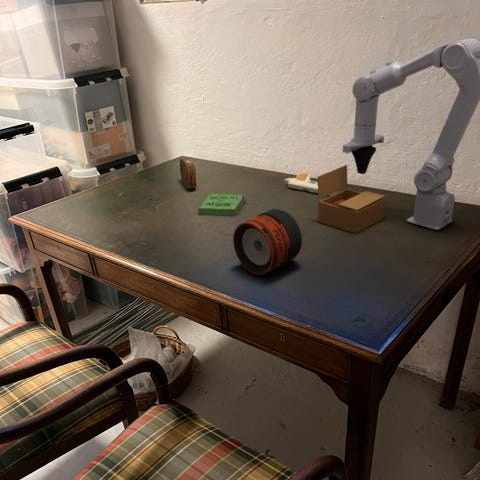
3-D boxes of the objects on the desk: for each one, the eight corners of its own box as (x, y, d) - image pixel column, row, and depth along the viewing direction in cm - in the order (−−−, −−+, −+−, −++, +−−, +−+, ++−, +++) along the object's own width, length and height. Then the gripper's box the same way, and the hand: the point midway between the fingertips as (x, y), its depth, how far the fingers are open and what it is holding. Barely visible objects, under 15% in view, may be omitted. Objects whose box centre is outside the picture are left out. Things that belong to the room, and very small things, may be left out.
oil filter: (234, 266, 124) (230, 215, 117) (268, 248, 131) (266, 200, 124) (273, 282, 116) (272, 229, 109) (307, 263, 123) (308, 212, 116)
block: (352, 215, 145) (352, 202, 143) (343, 220, 143) (344, 206, 140) (340, 212, 147) (341, 199, 145) (331, 216, 145) (332, 203, 143)
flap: (319, 199, 140) (318, 199, 140) (347, 186, 147) (346, 186, 147) (318, 176, 137) (317, 176, 137) (347, 164, 144) (346, 164, 144)
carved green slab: (199, 214, 154) (198, 206, 153) (210, 200, 164) (209, 192, 162) (235, 215, 151) (234, 207, 150) (244, 200, 161) (243, 193, 160)
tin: (180, 179, 183) (177, 155, 178) (189, 178, 183) (186, 154, 179) (189, 192, 171) (186, 167, 166) (198, 191, 171) (196, 166, 167)
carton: (318, 221, 144) (318, 199, 140) (345, 208, 151) (347, 186, 147) (355, 233, 136) (357, 209, 132) (383, 218, 143) (385, 195, 139)
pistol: (350, 187, 166) (332, 198, 158) (298, 177, 176) (279, 187, 169) (350, 180, 164) (332, 190, 157) (298, 170, 175) (279, 180, 168)
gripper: (372, 116, 145) (368, 164, 153) (335, 126, 138) (333, 175, 146) (391, 120, 140) (386, 169, 148) (354, 130, 133) (351, 181, 141)
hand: (361, 173), depth 146 cm, fingers closed
